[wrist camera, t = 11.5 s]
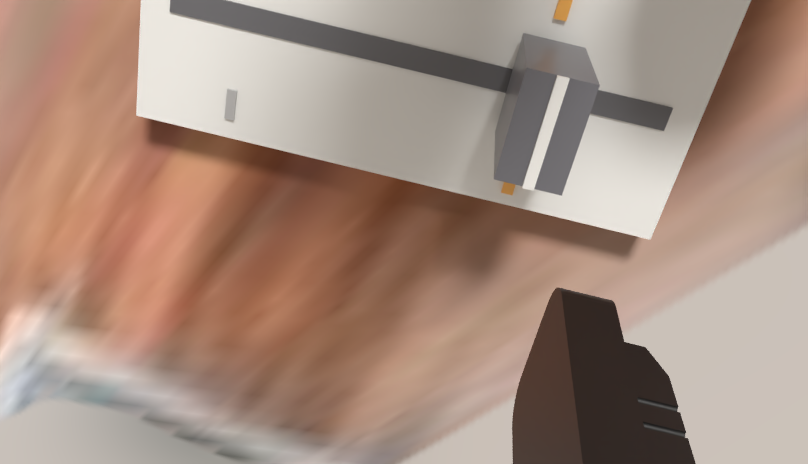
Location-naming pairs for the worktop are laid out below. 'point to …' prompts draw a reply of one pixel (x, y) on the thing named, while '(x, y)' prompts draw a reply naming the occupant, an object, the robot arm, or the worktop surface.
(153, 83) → the console board
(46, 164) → the worktop surface
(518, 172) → the fader cap
